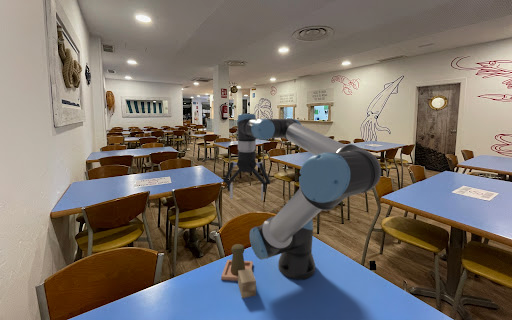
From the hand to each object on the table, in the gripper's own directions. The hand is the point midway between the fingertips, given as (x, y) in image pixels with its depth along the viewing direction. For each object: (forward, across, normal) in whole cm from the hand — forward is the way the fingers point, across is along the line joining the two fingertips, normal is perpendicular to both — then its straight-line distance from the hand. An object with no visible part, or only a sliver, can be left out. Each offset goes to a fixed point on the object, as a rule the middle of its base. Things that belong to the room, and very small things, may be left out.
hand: (246, 198), depth 106 cm
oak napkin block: (+27, -3, +23) cm, 35 cm away
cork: (+26, +2, +13) cm, 29 cm away
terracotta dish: (+27, +2, +13) cm, 30 cm away
